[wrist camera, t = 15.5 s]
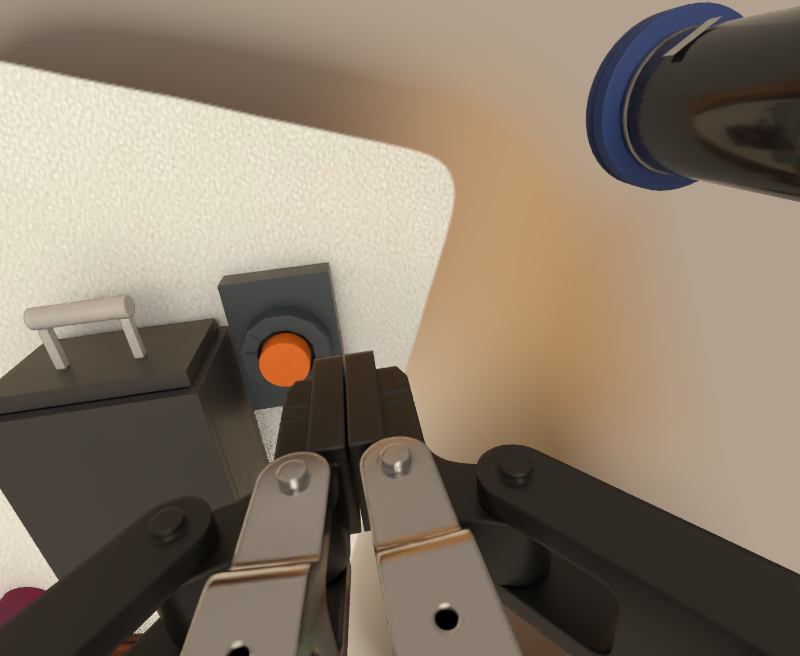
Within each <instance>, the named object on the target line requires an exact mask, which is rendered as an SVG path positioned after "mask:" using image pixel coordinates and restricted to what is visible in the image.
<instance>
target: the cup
mask: <svg viewBox="0 0 800 656" xmlns="http://www.w3.org/2000/svg"><path fill="white" fill-rule="evenodd" d="M44 592H45V591H43V590H40V589H36V588H18V589H14V590H11V591H9V592H8V593H6V594H5V595H4V596H3V598H2V599H1V600H0V627H1V626H2V625H3V624H4V623H6V622H7V621H8V620H10V619H11V618H12V617H13V616H15V615H16V614H17V613H18V612H20V611H21V610H22V609H24V608H25V607H26V606H27V605H29V604H30V603H31V602H32V601H34V600H35V599H36V598H38V597H39V596H40V595H41V594H43V593H44Z"/></svg>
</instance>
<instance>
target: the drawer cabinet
mask: <svg viewBox="0 0 800 656" xmlns="http://www.w3.org/2000/svg"><path fill="white" fill-rule="evenodd" d="M218 331H219V332H218V334H217V336H216V338H215V340H214V342H213V344H212V346H211V348H210V350H209V352H208V354H207V356H206V358H205V360H204V362H203V364H202V366H201V368H200V370H199V372H198V374H197V376H196V378H195V380H194V382H193V384H192V386H190V387H188V388H185V389H179V390H172V391H165V392H158V393H151V394H145V395H138V396H131V397H124V398H117V399H111V400H104V401H97V402H90V403H83V404H76V405H70V406H63V407H56V408H49V409H42V410H36V411H29V410H27V411H20V412H13V413H6V414H0V489H1V490H2V492H3V494H4V495H5V497H6V498H7V500H8V501H9V503H10V505H11V506H12V508H13V509H14V511H15V512H16V514H17V516H18V517H19V519H20V520H21V522H22V523H23V525H24V526H25V528H26V530H27V531H28V533H29V534H30V536H31V537H32V539H33V541H34V542H35V544H36V545H37V547H38V548H39V550H40V552H41V553H42V555H43V556H44V558H45V559H46V561H47V563H48V564H49V566H50V567H51V569H52V570H53V572H54V573H55V575H56V577H57V578H58V580H60V579H62V578H63V577H64V576H65V575H67V574H68V573H69V572H71V571H72V570H73V569H74V568H76V567H77V566H78V565H79V564H81V563H82V562H83V561H85V560H86V559H87V558H88V557H90V556H91V555H92V554H93V553H95V552H96V551H97V550H99V549H100V548H101V547H102V546H104V545H105V544H106V543H107V542H109V541H110V540H111V539H113V538H114V537H115V536H116V535H118V534H119V533H120V532H121V531H123V530H124V529H125V528H127V527H128V526H129V525H130V524H132V523H133V522H134V521H135V520H137V519H138V518H139V517H141V516H142V515H143V514H144V513H146V512H147V511H148V510H150V509H151V508H153V507H155V506H156V505H158V504H160V503H162V502H164V501H167V500H170V499H172V498H176V497H181V496H196V497H200V498H202V499H204V500H205V501H207V502H208V504H209V505H210V508H211V510H214V509H216V508H219V507H221V506H224V505H226V504H228V503H231V502H233V501H236V500H238V499H240V498H242V497H244V496H246V495H248V494H249V493H251V492H252V491H253V490H254V487H255V483H256V480H257V478H258V476H259V474H260V473H261V471H262V470H263V469H264V468H265V467H266V466H267V465H268V464H269V463H268V460H267V456H266V453H265V449H264V446H263V443H262V439H261V436H260V432H259V429H258V425H257V422H256V418H255V415H254V411H253V408H252V404H251V401H250V397H249V394H248V390H247V387H246V383H245V380H244V377H243V373H242V370H241V366H240V363H239V359H238V356H237V352H236V349H235V345H234V342H233V338H232V335H231V331H230V328H229V326H225V327H218ZM28 411H29V412H28Z"/></svg>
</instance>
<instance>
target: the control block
mask: <svg viewBox="0 0 800 656" xmlns="http://www.w3.org/2000/svg"><path fill="white" fill-rule="evenodd" d="M218 290H219V293H220V297H221V300H222V303H223V307H224V310H225V314H226V317H227V321H228V324H229V328H230V331H231V335H232V338H233V342H234V345H235V349H236V352H237V356H238V359H239V363H240V366H241V370H242V373H243V377H244V380H245V383H246V387H247V390H248V394H249V397H250V401H251V404H252V408H253V410H258V409H265V408H272V407H278V406H283V404H284V398H285V394H286V392H287V391H288V390H289V389H290V388H291V386H287V387H283V386H277V385H274V384H272V383H270V382H269V381H267V380H266V379H265V378H264V377H263V375H262V374H261V372H260V369H259V359H260V356H261V352H262V349H263V346H264V344H265V342H266V341H267V340H268V339H269V338H271V337H272V336H274V335H276V334H280V333H292V334H295V335H298V336H300V337H301V338H303V339H304V340H305V341H306V342H307V344H308V345H309V347H310V350H311V364H310V370H309V373H308V375H307V376H306V378H305V379H304V380H307V379H312V377H313V364H314V359H318V358H325V357H331V356H338V355H343V357H344V362H345V355H344V349H343V343H342V337H341V332H340V326H339V320H338V314H337V308H336V302H335V296H334V291H333V285H332V279H331V273H330V267H329V263H321V264H313V265H305V266H298V267H290V268H283V269H275V270H267V271H260V272H252V273H245V274H237V275H229V276H224V277H223V279H222V280H221V282H220V283H219V285H218Z"/></svg>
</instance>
